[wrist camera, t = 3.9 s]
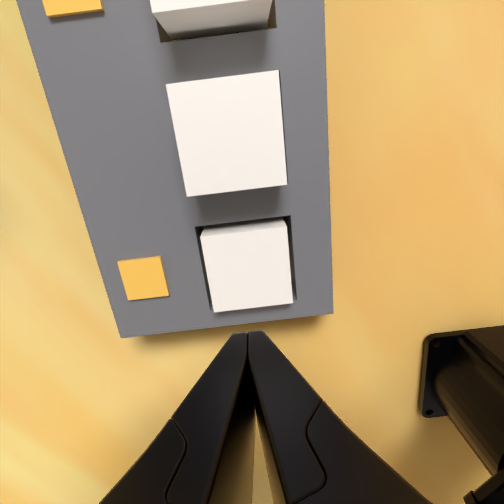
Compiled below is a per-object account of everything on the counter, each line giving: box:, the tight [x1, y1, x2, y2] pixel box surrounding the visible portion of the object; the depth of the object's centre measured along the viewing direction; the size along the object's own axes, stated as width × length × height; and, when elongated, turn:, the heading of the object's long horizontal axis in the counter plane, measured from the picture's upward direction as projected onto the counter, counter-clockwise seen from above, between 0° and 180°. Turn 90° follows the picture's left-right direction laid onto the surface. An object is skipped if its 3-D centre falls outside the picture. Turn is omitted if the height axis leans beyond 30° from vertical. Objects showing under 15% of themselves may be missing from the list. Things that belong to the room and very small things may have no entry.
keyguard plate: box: [16, 0, 333, 338], centre depth 14 cm, size 18×11×3 cm, turn 7°
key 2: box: [200, 216, 293, 312], centre depth 16 cm, size 4×4×3 cm
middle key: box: [166, 70, 287, 197], centre depth 13 cm, size 4×4×3 cm
